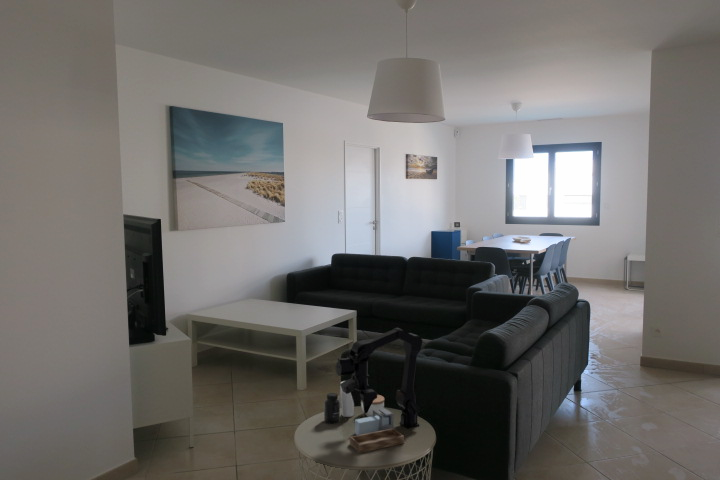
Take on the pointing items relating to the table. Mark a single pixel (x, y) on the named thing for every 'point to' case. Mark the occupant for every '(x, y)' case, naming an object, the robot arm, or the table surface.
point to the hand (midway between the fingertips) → (360, 409)
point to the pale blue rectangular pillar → (369, 424)
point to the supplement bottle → (332, 409)
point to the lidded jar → (375, 406)
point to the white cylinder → (346, 403)
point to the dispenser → (385, 412)
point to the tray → (376, 440)
